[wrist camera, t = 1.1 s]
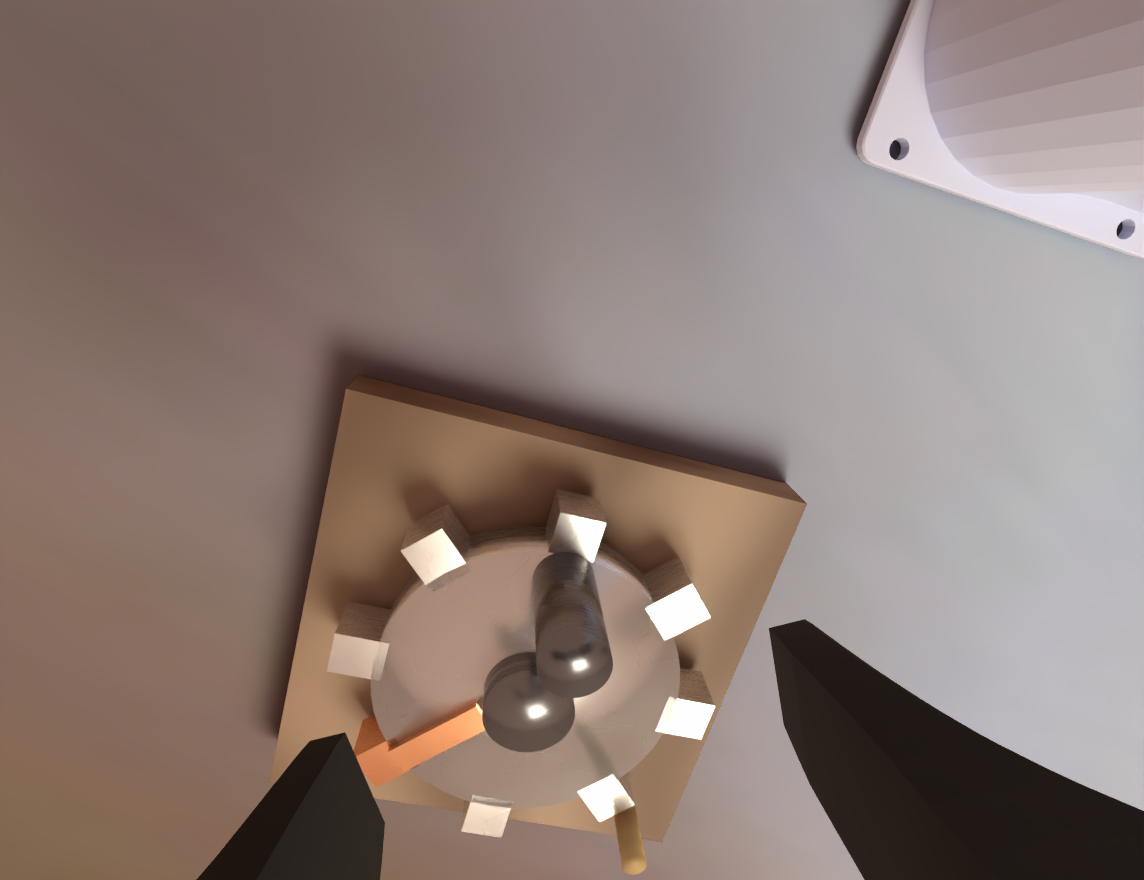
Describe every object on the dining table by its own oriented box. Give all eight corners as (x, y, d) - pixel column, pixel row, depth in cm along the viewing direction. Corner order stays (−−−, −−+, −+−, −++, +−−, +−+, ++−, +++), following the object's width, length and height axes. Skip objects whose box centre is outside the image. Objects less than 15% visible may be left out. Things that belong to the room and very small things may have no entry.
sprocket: (757, 536, 19) (836, 643, 14) (641, 818, 22) (675, 982, 18) (381, 447, 17) (332, 535, 13) (312, 765, 21) (252, 932, 16)
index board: (786, 483, 21) (857, 555, 16) (653, 805, 24) (682, 930, 20) (358, 374, 19) (312, 424, 14) (285, 745, 22) (231, 871, 18)
